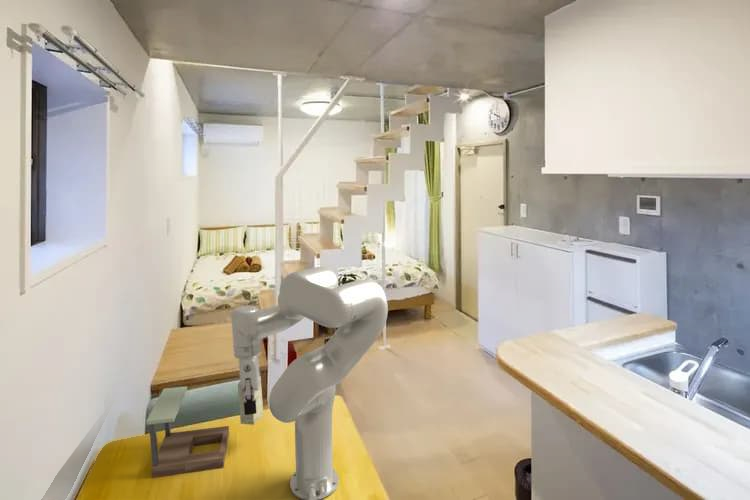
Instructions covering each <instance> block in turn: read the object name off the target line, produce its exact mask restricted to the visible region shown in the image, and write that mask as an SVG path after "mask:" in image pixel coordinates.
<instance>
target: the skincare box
mask: <svg viewBox="0 0 750 500" xmlns="http://www.w3.org/2000/svg"><path fill="white" fill-rule="evenodd" d="M261 378H262V376H260V387H259V390H258V391H257V390H254V395H255V399H256V414H250V415H245V411H244V392H242V391H241V383H240V382H239V383H238V384H237V391H238V392H237V393H238V404H239V405H238V406H239V418H240V424H241V425H250V426H251V425H252V426H254V425H255V424H256V423H257V422H258V421H259V420H260V419H261V418H262V417H264V404H263V391H262V379H261ZM252 389H253V387H252V386H251V390H252ZM251 394H252V392H251Z"/></svg>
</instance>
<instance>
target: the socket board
mask: <svg viewBox="0 0 750 500" xmlns="http://www.w3.org/2000/svg"><path fill="white" fill-rule="evenodd" d="M187 391H188V386H178V387H167V388H163V389H162V391H161V393H160V395H159V396H158V398H157V400H156V402H155V404H154V405H153V407H152V410H151V411H150V413H149V415H148V417H147V419H146V421H145V422H146V424H145V425H148V426H149V437H150V440H149V441H150V451H151V452H150V453H151V463H152V465H151V468H150V469H151V470H150V471H151V478H152V479H155V478H162V477H163V478H164V477H168V476H169V477H171V476H177V475H182V474H183V475H184V474H190V473H197V472H203V471H211V470H216V469H217V470H218V469H224V466H225V461H226V454H227V449H228V448H227V447H228V442H229V436H230V426H229V425H224V426H217V427H215V426H214V427H207V428H200V429H191V430H183V431H176V432H175V431H174V432H171V431H172V430H171V422H173V423H174V422H175V420H176V417H177V415H178V413H179V409H180V408H181V405H182V403H183V400H184V399H185V396H186V393H187ZM163 423H164V432H165V433H164V434H165V435H164V437H163V439H162V442H161V445H160V446H159V449H158V439H157V426H156V425H158V424H163ZM213 444H214V445H215V444H220V448H219V449H218V450H213V451H205V452H203V451H202V452H198V453H192V452H193V450H194V447H197V446H198V447H199V446H206V445H213Z"/></svg>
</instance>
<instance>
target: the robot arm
mask: <svg viewBox="0 0 750 500" xmlns="http://www.w3.org/2000/svg"><path fill="white" fill-rule="evenodd" d="M388 306H389V305H388V299H387V295H386V293H385V291H384V289H383V288H382V286H381V285H380V284H378V283H377V282H375V281H373V280H371V279H370V280H368V279H359V280H354V281H350V282H348V283H344V284H340V285H339V279H338V276H337V275H336V274H335V272H334V271H333V270H332V269H331V268H327V267H323V266H317V267H311V268H307V269H303V270H298V271H294V272H290V273H289V274H287V275H286V276H285V277H284V278H283V279H282V280H281V282H280V285H279V293H278V297H277V305H273V306H270V307H266V308H263V309H260V310H259V309H258V308H257V307H256V306H254V305H242V306H238V307H235V308H233V309H232V311H231V312H230V318H231V333H232V344H233V348H232V349H233V356H234V358H236V359H238V370H239V381H240V382H239V383H241V391H242V392H244V411H245V415H250V414H256V399H255V395H254V390H257V391H258V390H259V387H260V375H261V374H260V363H259V362H260V360H259V356H260V355H261V354H262V346H261V343H262V342H261V340H262V339H264V338H268V337H269V336H272V335H275V334H278V333H281V332H284V331H286V330H288V329H290V328H291V327H293V326H295V325H296V324H298V323H300V322H301V321H303V319H304V318H305V319H308V320H310V321H312V322H314V323H317V324H318V325H320V326H322V327H326V328H329V329H330V328H331V329H336V330H335V332H334V333H333V335H332V336H331V337H330V338H329V340H328V341H327V342H325V344H323V345H321V346H320V347H317V348H315V349H313V350H311V351H309V352H306V353H304V354H301V356H298V357H296V359H294V360H293V361H291V363H289V365H288V366H287V367H286V368H285V370H284V371H283V373H282V374H281V376H280V377H279V378H278V380H277V381H276V382H275V383H274V385H273V387H272V388H271V391H270V393H269V397H268V406H269V411H270V412H271V415H272V416H273V417H274V418H275V419H276V420H277V421H279V422H281V423H285V424H286V423H288V424H289V423H294V445H295V447H294V449H295V472H294V473H293V474H292V475H291V477H290V480H289V487H290V490H291V492H292V494H293V495H294V496H296V497H297V498H298V499H301V500H321V499H325V498H326V497H328V496H330V495H331V494H332V493H334V492H335V491H336V489H337V488H338V486H339V474H338V472H337V471H336V469H334V468H333V410H334V409H333V408H334V402H335V398H336V397H335V396H336V391H337V390H336V389H337V387H336V385H339V384H340V383H341V382H342V381H344V380H345V379H346V377H347V376H348V375H349V373H350V372H351V371H352V370H353V369H354V368H355V366H356V365H357V364H358V363H359V362H360V361H361V359H362V358H363V357H364V355H365V354H366V353H367V352H369V350H370V348H371V347H372V346H373V345H374V343H376V341H377V340H378V339H379V337H380V335H381V334H382V332H383V330H384V328H385V325H386V322H387V319H388V313H389V310H388V309H389V307H388ZM251 386H252V387H253V389H252V390H251ZM251 392H252V394H251Z"/></svg>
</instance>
